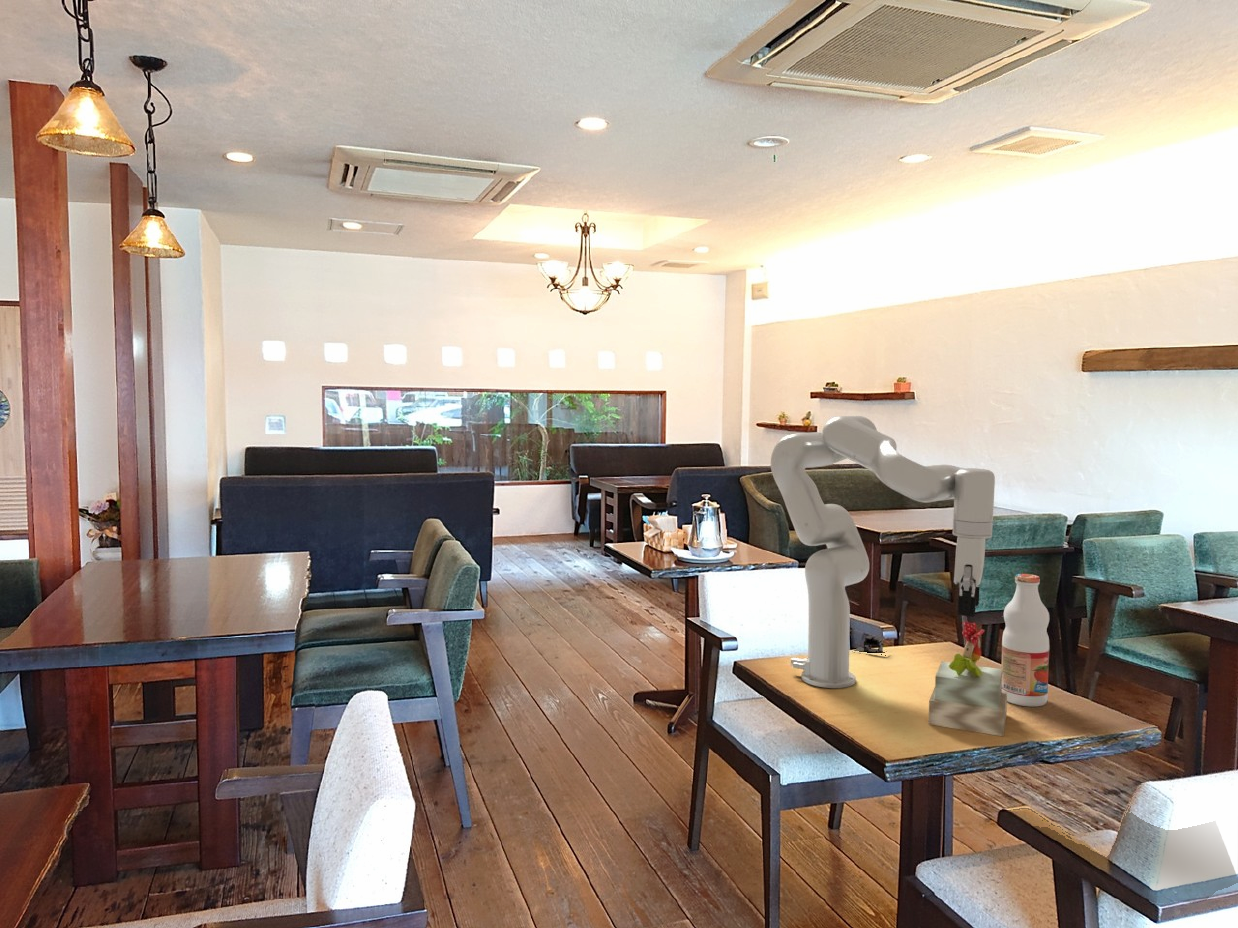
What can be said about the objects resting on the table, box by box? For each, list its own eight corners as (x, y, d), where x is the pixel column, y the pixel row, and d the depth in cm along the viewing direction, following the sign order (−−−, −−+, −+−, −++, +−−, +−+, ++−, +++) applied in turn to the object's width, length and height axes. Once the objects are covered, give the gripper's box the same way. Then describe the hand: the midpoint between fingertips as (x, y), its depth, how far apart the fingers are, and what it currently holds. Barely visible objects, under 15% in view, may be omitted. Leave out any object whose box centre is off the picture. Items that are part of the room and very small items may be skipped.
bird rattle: (954, 676, 178) (946, 670, 171) (960, 625, 181) (952, 616, 174) (985, 682, 175) (978, 676, 168) (991, 629, 178) (984, 621, 171)
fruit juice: (1000, 690, 193) (1004, 570, 191) (1046, 696, 189) (1050, 573, 187) (1000, 703, 184) (1003, 578, 183) (1048, 710, 181) (1052, 581, 179)
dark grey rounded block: (845, 653, 224) (846, 636, 223) (854, 647, 230) (855, 630, 229) (892, 661, 217) (893, 644, 216) (900, 654, 223) (901, 637, 222)
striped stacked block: (928, 724, 173) (929, 676, 172) (936, 704, 184) (937, 659, 184) (1003, 736, 166) (1004, 686, 166) (1006, 714, 178) (1007, 668, 177)
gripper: (957, 521, 182) (953, 598, 184) (948, 533, 167) (944, 617, 168) (994, 524, 179) (990, 603, 180) (989, 536, 163) (985, 622, 165)
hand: (968, 610), depth 174 cm, fingers open, 9 cm apart
